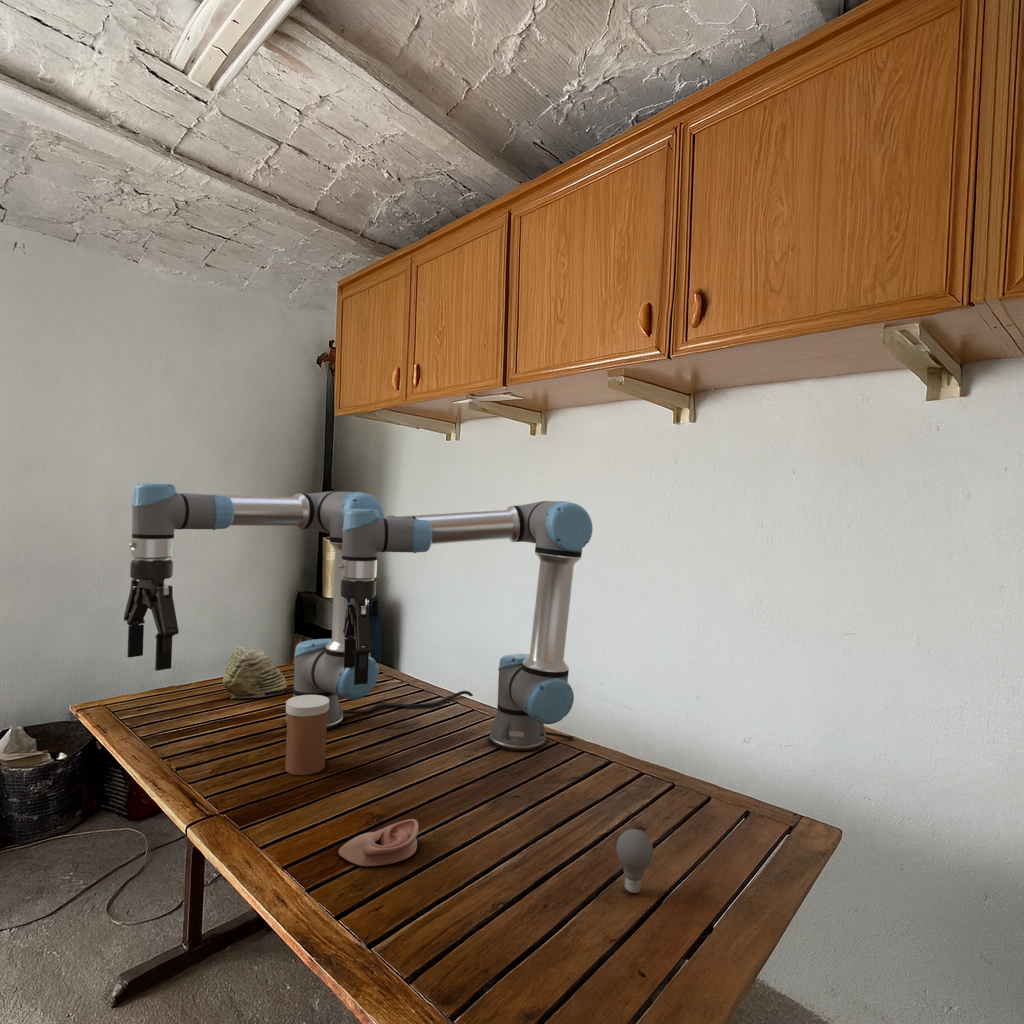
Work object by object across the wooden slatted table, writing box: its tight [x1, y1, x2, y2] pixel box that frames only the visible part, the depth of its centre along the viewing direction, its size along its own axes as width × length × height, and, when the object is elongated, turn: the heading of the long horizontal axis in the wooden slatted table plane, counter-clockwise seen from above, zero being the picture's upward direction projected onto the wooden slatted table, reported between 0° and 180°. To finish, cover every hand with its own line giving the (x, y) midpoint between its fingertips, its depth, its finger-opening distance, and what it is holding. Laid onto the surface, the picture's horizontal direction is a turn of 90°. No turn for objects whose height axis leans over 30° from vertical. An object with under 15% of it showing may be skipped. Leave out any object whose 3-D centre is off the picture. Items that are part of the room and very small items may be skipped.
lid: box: [285, 695, 329, 717], centre depth 148 cm, size 10×10×2 cm
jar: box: [284, 712, 328, 776], centre depth 148 cm, size 9×9×15 cm
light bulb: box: [615, 828, 654, 894], centre depth 106 cm, size 6×6×10 cm
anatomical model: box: [337, 818, 419, 867], centre depth 114 cm, size 13×4×12 cm
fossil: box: [222, 646, 288, 699], centre depth 198 cm, size 9×18×15 cm, turn 132°
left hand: (148, 662), depth 129 cm, fingers open, 13 cm apart
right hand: (355, 675), depth 139 cm, fingers open, 13 cm apart
